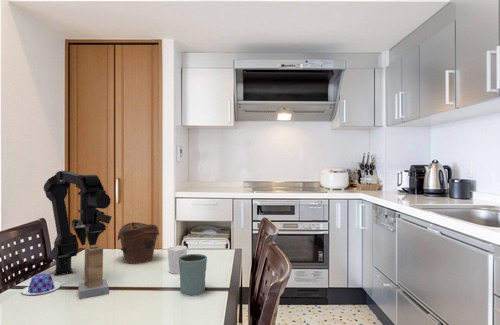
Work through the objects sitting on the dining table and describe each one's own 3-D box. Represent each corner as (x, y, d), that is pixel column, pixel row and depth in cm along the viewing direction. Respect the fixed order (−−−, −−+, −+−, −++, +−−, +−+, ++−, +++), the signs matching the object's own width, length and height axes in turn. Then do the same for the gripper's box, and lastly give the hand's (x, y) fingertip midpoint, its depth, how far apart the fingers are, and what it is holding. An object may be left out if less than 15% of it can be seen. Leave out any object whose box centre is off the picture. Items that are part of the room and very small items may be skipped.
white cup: (182, 274, 134) (182, 250, 135) (164, 273, 136) (164, 249, 136) (189, 269, 142) (189, 246, 142) (172, 267, 144) (172, 245, 144)
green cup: (182, 298, 110) (182, 262, 111) (175, 288, 119) (175, 255, 120) (210, 293, 115) (211, 258, 115) (201, 283, 124) (201, 252, 124)
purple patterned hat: (32, 299, 110) (32, 283, 110) (14, 292, 116) (14, 277, 116) (67, 288, 120) (67, 273, 120) (49, 282, 126) (49, 268, 126)
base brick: (78, 290, 117) (78, 283, 117) (105, 285, 122) (105, 278, 122) (79, 298, 109) (79, 291, 109) (108, 293, 114) (108, 286, 114)
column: (84, 284, 115) (84, 245, 116) (97, 281, 119) (97, 243, 119) (89, 288, 112) (89, 247, 113) (102, 284, 116) (103, 245, 116)
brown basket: (128, 253, 166) (128, 218, 166) (165, 255, 164) (165, 219, 164) (108, 264, 149) (108, 225, 149) (149, 266, 146) (150, 226, 146)
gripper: (119, 207, 127) (119, 247, 127) (99, 203, 140) (99, 240, 140) (89, 209, 119) (89, 252, 119) (71, 205, 132) (70, 244, 131)
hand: (87, 247), depth 127 cm, fingers open, 9 cm apart
